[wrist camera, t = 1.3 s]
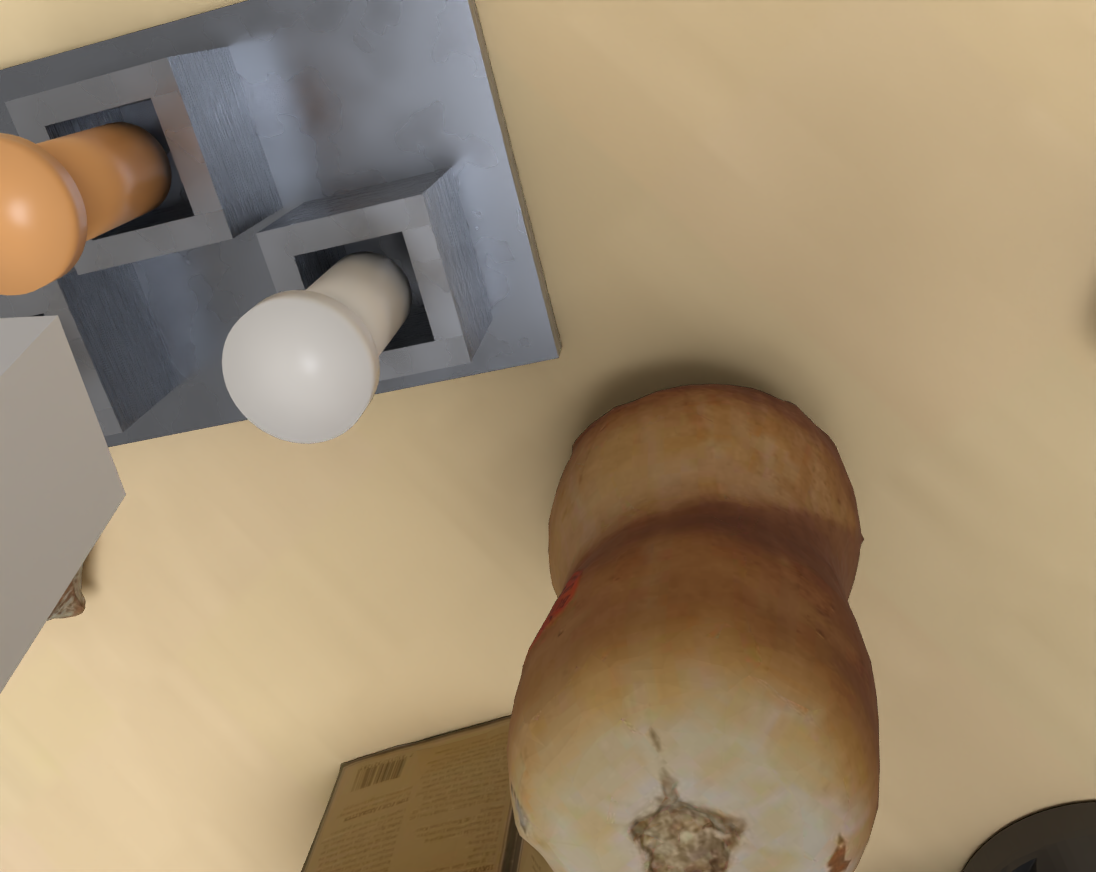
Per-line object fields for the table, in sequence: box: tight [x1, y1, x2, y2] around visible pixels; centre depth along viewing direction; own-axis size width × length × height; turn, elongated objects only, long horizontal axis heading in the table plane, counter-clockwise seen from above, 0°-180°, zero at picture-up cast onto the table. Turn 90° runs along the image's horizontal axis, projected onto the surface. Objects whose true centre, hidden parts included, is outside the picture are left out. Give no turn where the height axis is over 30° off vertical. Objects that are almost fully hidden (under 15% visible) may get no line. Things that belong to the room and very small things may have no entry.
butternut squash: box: [507, 384, 880, 872], centre depth 41 cm, size 14×13×25 cm
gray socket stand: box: [0, 0, 562, 447], centre depth 46 cm, size 18×28×8 cm, turn 104°
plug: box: [222, 251, 412, 443], centre depth 39 cm, size 5×5×9 cm
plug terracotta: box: [0, 122, 172, 295], centre depth 38 cm, size 5×5×9 cm
